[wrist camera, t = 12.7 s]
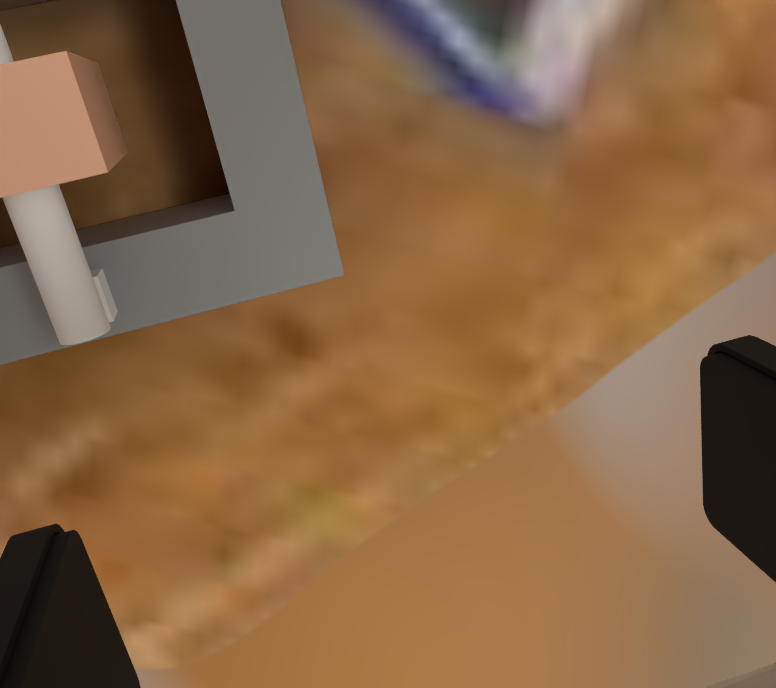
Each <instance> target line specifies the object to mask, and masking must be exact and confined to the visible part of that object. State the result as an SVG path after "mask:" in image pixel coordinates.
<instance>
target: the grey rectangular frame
mask: <svg viewBox="0 0 776 688" xmlns="http://www.w3.org/2000/svg"><path fill="white" fill-rule="evenodd" d="M46 1H52V0H0V10H5V9H10V8H15V7H20V6H26V5H31V4H36V3H41V2H46ZM176 3H177V6H178V10H179V14H180V17H181V21H182V24H183V28H184V31H185V35H186V39H187V42H188V46H189V49H190V53H191V56H192V60H193V64H194V67H195V71H196V74H197V78H198V82H199V85H200V89H201V92H202V96H203V99H204V103H205V107H206V110H207V114H208V117H209V121H210V124H211V128H212V132H213V135H214V139H215V142H216V146H217V149H218V153H219V157H220V160H221V164H222V167H223V171H224V174H225V178H226V182H227V185H228V189H229V192H230V193H229V194H225V195H221V196H217V197H213V198H208V199H204V200H200V201H196V202H192V203H187V204H183V205H179V206H175V207H171V208H166V209H162V210H158V211H154V212H150V213H145V214H141V215H137V216H133V217H129V218H124V219H120V220H116V221H112V222H108V223H103V224H99V225H95V226H91V227H87V228H82V229H78V230H75V227H74V225H73V222H72V219H71V216H70V214H69V211H68V208H67V205H66V203H65V200H64V197H63V194H62V192H61V189H60V186H59V184H57V185H53V186H49V187H44V188H40V189H36V190H32V191H28V192H23V193H19V194H15V195H11V196H6V197H2V198H3V201H4V203H5V206H6V208H7V211H8V213H9V216H10V218H11V221H12V224H13V226H14V229H15V231H16V234H17V236H18V239H19V241H20V243H19V244H15V245H11V246H7V247H3V248H0V365H2V364H6V363H10V362H14V361H18V360H21V359H25V358H29V357H33V356H37V355H41V354H44V353H48V352H52V351H56V350H60V349H64V348H67V347H71V346H75V345H79V344H83V343H87V342H90V341H94V340H98V339H102V338H106V337H110V336H113V335H117V334H121V333H125V332H129V331H133V330H136V329H140V328H144V327H148V326H152V325H156V324H159V323H163V322H167V321H171V320H175V319H179V318H182V317H186V316H190V315H194V314H198V313H202V312H205V311H209V310H213V309H217V308H221V307H225V306H228V305H232V304H236V303H240V302H244V301H248V300H251V299H255V298H259V297H263V296H267V295H271V294H274V293H278V292H282V291H286V290H290V289H294V288H298V287H301V286H305V285H309V284H313V283H317V282H321V281H324V280H328V279H332V278H336V277H340V276H344V272H343V268H342V263H341V259H340V255H339V250H338V246H337V242H336V238H335V233H334V229H333V225H332V220H331V216H330V212H329V207H328V203H327V199H326V194H325V190H324V186H323V181H322V177H321V173H320V169H319V164H318V160H317V156H316V151H315V147H314V143H313V138H312V134H311V130H310V125H309V121H308V117H307V112H306V108H305V104H304V100H303V95H302V91H301V87H300V82H299V78H298V74H297V69H296V65H295V61H294V56H293V52H292V48H291V43H290V39H289V35H288V31H287V26H286V22H285V18H284V13H283V9H282V5H281V0H176ZM10 62H14V60H13V57H12V54H11V52H10V49H9V46H8V43H7V41H6V38H5V35H4V32H3V30H2V27H1V24H0V64H5V63H10Z"/></svg>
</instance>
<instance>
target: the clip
mask: <svg viewBox="0 0 776 688" xmlns="http://www.w3.org/2000/svg"><path fill="white" fill-rule="evenodd" d="M127 153H128V151H127V148H126V145H125V142H124V139H123V136H122V133H121V130H120V127H119V124H118V121H117V118H116V115H115V112H114V109H113V106H112V103H111V100H110V97H109V94H108V91H107V88H106V85H105V82H104V79H103V76H102V73H101V70H100V67H99V64H98V63H97V62H95V61H92V60H89V59H87V58H84V57H81V56H79V55H76V54H73V53H71V52H68V51H63V52H58V53H53V54H48V55H43V56H39V57H34V58H29V59H24V60H19V61H15V62H10V63H5V64H0V198H2V197H6V196H11V195H15V194H19V193H23V192H28V191H32V190H36V189H40V188H44V187H49V186H53V185H57V184H61V183H66V182H70V181H74V180H78V179H82V178H87V177H91V176H95V175H99V174H104V173H108V172H109V171H110V170H111V169H112V168H113V167H114V166H115V165H116V164H117V163H118V162H119V161H120V160H121V159H122V158H123V157H124V156H125V155H126V154H127Z"/></svg>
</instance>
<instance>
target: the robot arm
mask: <svg viewBox="0 0 776 688" xmlns="http://www.w3.org/2000/svg"><path fill="white" fill-rule="evenodd" d="M700 385H701V386H700V387H701V428H702V429H701V430H702V473H703V505H704V510H705V513H706V516H707V517H708V520H709V521H710V523H711V524H712V526H713V527H714V528H715V529H716V530H717V531H719V532H720V533H721V534H722V535H723V536H724V537H725V538H726V539H728V540H729V541H730V542H731V543H732V544H733V545H734V546H736V547H737V548H738V549H739V550H740V551H741V552H742V553H743V554H744V555H746V556H747V557H748V558H749V559H750V560H751V561H752V562H753V563H755V564H756V565H757V566H758V567H759V568H760V569H761V570H762V571H764V572H765V573H766V574H767V575H768V576H769V577H770V578H771V579H773V580H774V581H775V582H776V346H774V345H772V344H770V343H768V342H766V341H764V340H761V339H759V338H757V337H754V336H751V335H748V336H744V337H740V338H737V339H733V340H729V341H726V342H722V343H718V344H715V345H713V346H712V347H711V348H710V350H709V352H708V356H706V357H704V358H703V359H702V361H701V365H700ZM0 688H140V684H139V680H138V677H137V674H136V672H135V669H134V667H133V664H132V662H131V659H130V657H129V654H128V652H127V650H126V647H125V645H124V642H123V640H122V637H121V635H120V632H119V630H118V627H117V625H116V623H115V620H114V618H113V615H112V613H111V610H110V608H109V605H108V603H107V600H106V598H105V596H104V593H103V591H102V588H101V586H100V583H99V581H98V578H97V576H96V573H95V571H94V569H93V566H92V564H91V561H90V559H89V556H88V554H87V551H86V549H85V546H84V544H83V541H82V539H81V537H80V535H79V534H78V532H77V531H75V530H71V531H68V532H64V530H63V529H62V528H61V526H60V525H58V524H53V525H49V526H46V527H42V528H38V529H35V530H31V531H27V532H24V533H20V534H16V535H13V536H11V537H10V539H9V540H8V542H7V545H6V547H5V549H4V551H3V554H2V556H1V558H0ZM703 688H776V663H773V664H770V665H767V666H764V667H761V668H758V669H755V670H752V671H749V672H747V673H743V674H740V675H737V676H735V677H732V678H729V679H726V680H723V681H720V682H717V683H714V684H711V685H708V686H705V687H703Z"/></svg>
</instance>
